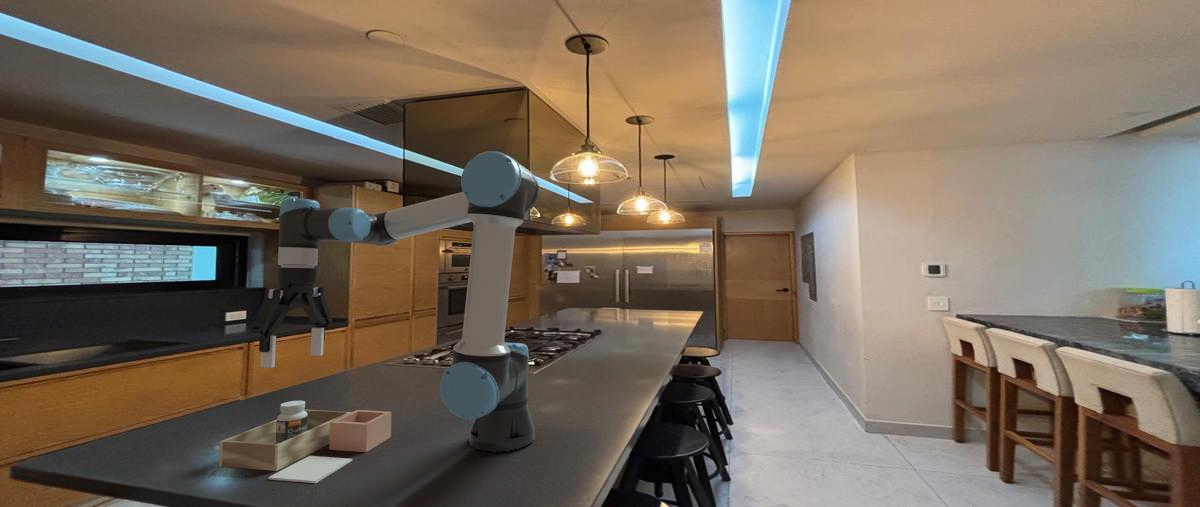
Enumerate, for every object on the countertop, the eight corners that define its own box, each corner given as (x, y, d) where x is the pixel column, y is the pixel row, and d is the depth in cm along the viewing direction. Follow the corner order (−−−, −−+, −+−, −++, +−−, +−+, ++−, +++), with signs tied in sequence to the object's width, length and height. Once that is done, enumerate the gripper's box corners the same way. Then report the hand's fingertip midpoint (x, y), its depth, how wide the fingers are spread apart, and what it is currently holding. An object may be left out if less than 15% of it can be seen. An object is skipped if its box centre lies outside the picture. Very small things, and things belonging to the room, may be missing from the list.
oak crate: (302, 429, 111) (303, 409, 111) (350, 432, 109) (351, 412, 110) (219, 466, 90) (220, 441, 90) (277, 470, 88) (278, 445, 89)
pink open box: (390, 437, 107) (391, 411, 107) (366, 452, 98) (367, 424, 98) (356, 434, 108) (357, 409, 108) (329, 449, 99) (330, 422, 99)
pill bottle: (290, 454, 96) (292, 408, 97) (268, 451, 98) (270, 406, 98) (312, 444, 102) (314, 400, 102) (291, 442, 103) (293, 398, 104)
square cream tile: (352, 460, 93) (352, 458, 93) (315, 483, 83) (315, 481, 83) (309, 457, 95) (309, 455, 95) (268, 479, 85) (268, 477, 85)
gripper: (323, 267, 114) (320, 350, 113) (231, 266, 90) (225, 372, 89) (350, 267, 113) (347, 351, 112) (264, 266, 89) (259, 374, 88)
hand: (293, 360), depth 101 cm, fingers open, 13 cm apart
